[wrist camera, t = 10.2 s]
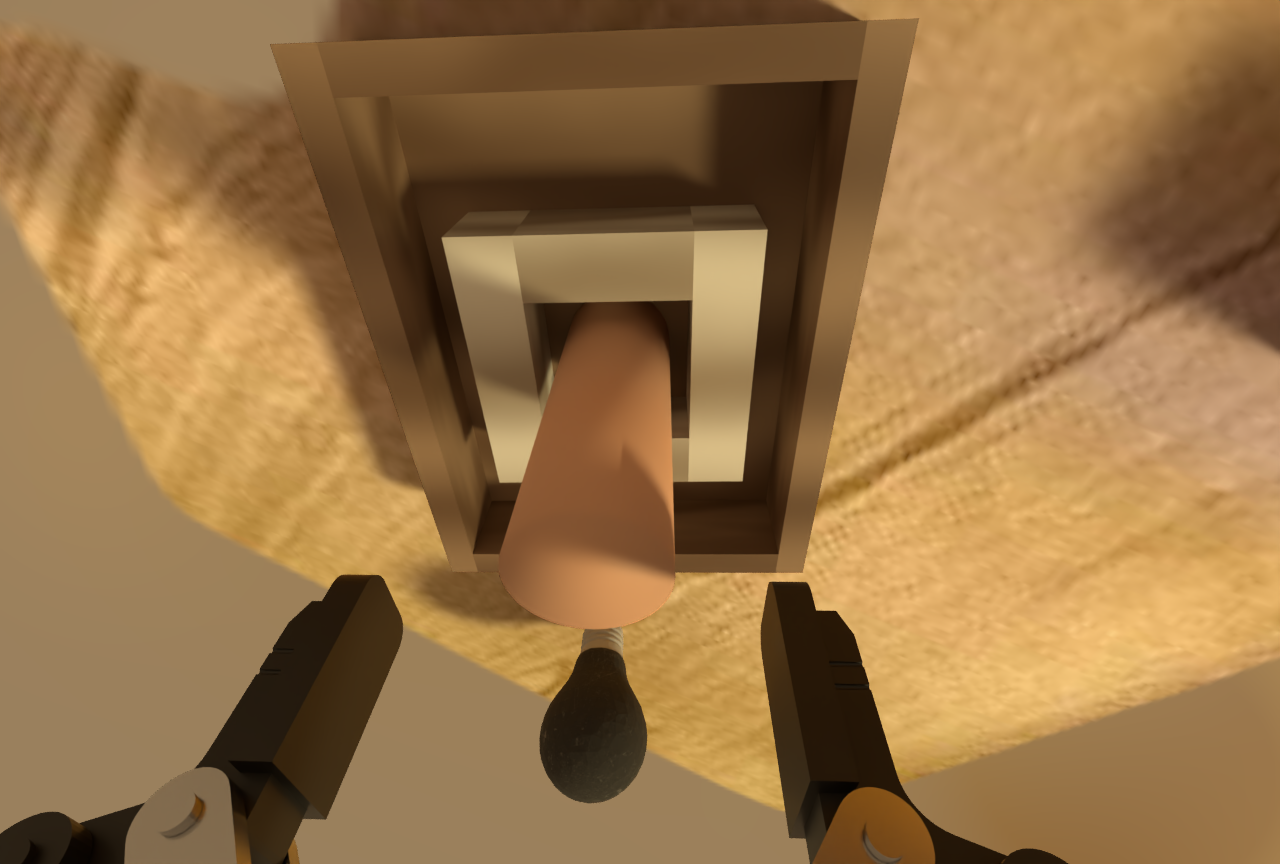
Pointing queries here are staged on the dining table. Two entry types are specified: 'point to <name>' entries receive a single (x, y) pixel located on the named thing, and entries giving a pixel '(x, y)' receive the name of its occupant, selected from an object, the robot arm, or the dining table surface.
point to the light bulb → (594, 724)
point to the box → (612, 247)
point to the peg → (599, 478)
